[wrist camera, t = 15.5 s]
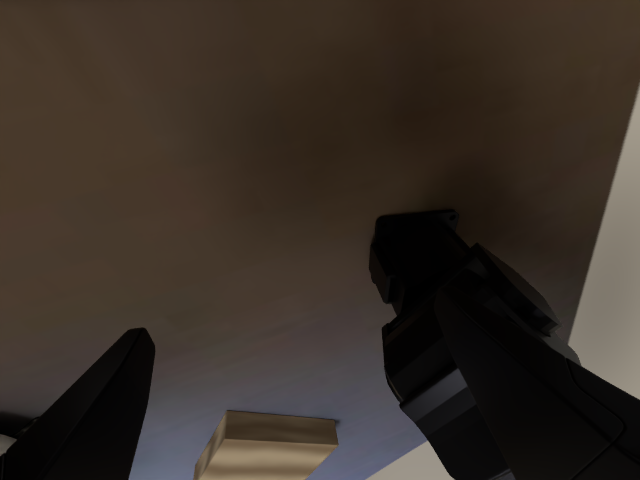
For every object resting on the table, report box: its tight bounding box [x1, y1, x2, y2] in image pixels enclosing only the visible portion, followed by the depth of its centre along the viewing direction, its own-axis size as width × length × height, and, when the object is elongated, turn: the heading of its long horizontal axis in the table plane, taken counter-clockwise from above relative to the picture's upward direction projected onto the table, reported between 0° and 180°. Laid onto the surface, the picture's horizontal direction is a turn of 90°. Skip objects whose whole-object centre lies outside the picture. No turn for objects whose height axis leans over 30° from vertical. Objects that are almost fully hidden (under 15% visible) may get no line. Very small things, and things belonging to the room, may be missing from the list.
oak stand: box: [193, 411, 339, 480], centre depth 40 cm, size 14×14×3 cm
